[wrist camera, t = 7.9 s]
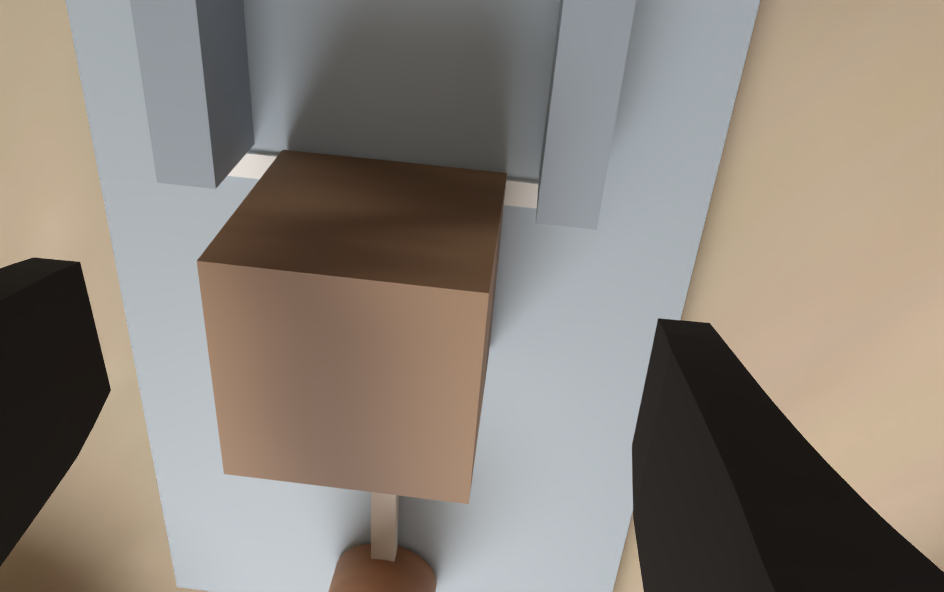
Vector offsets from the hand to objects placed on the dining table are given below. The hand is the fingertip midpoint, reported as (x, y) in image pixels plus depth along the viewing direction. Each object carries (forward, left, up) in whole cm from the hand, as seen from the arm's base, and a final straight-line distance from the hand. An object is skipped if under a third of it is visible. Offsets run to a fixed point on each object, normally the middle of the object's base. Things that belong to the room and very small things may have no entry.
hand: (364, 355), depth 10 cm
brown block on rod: (+1, +9, -8) cm, 12 cm away
